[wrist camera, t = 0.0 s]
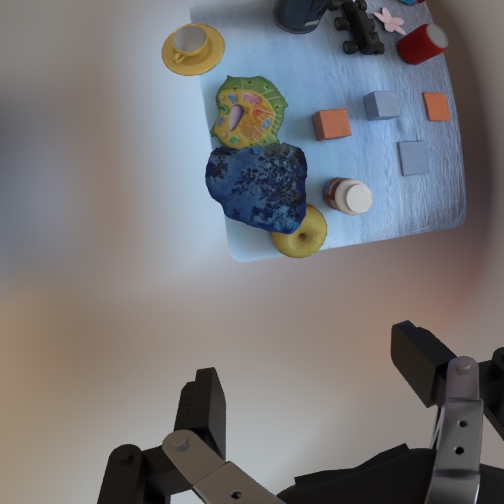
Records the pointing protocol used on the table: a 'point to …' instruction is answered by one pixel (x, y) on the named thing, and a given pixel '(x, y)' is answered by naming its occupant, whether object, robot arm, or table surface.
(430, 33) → the beverage can
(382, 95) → the slate-blue block
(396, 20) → the flower
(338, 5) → the toy vehicle
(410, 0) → the toy truck
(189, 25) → the cup
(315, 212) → the apple
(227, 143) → the educational model
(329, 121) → the terracotta block
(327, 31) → the table surface
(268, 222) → the rock
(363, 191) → the pill bottle
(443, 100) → the terracotta mat
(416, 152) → the slate-blue mat
